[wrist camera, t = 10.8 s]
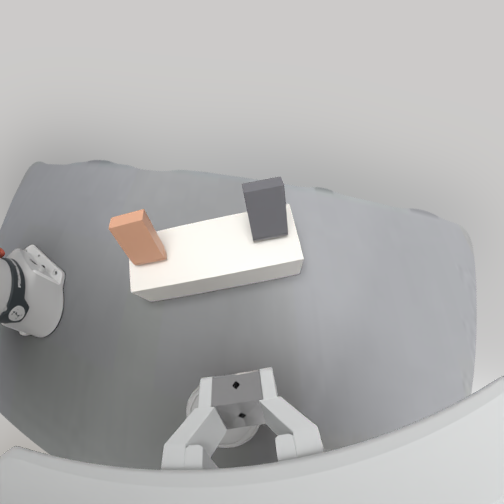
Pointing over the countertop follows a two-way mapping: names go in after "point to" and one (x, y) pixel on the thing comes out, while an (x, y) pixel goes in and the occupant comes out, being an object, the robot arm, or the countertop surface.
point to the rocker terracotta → (137, 237)
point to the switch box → (216, 258)
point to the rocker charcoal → (266, 208)
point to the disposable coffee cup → (232, 435)
